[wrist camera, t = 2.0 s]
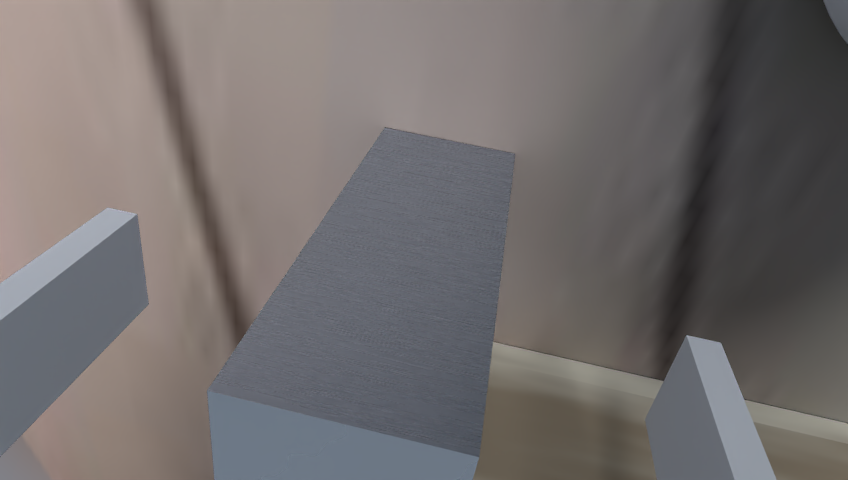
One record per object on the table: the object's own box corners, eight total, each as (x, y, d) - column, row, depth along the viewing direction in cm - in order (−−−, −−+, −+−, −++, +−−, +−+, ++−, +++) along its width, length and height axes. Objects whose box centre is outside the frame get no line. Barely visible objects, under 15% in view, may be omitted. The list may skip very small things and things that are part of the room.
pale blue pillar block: (384, 127, 18) (206, 390, 8) (515, 153, 17) (479, 457, 8) (367, 284, 21) (224, 602, 12) (477, 309, 21) (420, 654, 11)
